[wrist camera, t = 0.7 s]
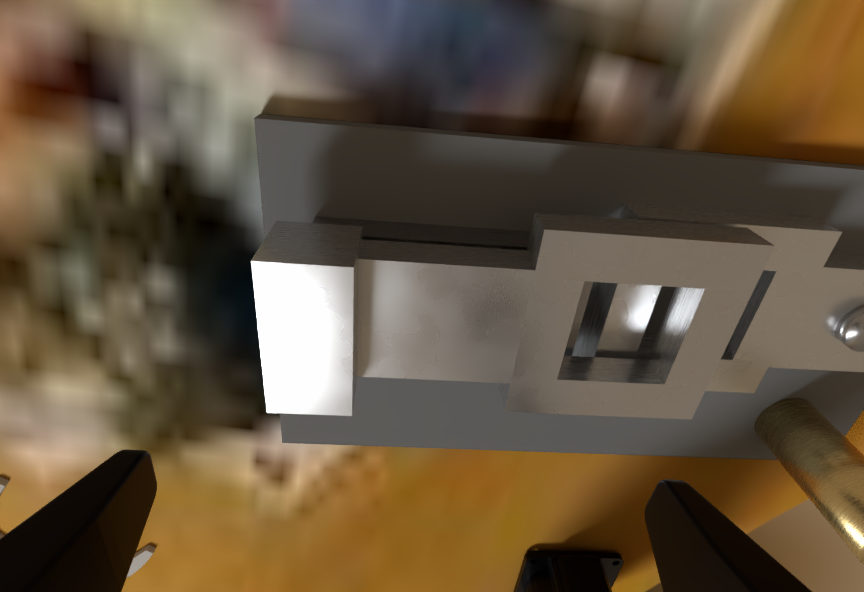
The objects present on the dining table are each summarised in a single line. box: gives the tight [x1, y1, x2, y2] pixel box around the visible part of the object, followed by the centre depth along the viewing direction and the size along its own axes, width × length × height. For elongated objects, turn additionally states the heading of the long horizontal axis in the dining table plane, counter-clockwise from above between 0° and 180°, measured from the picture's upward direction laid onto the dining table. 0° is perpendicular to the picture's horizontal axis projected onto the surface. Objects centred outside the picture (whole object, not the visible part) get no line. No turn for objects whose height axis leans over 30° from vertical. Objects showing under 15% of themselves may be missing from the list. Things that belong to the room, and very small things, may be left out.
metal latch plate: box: [251, 212, 775, 420], centre depth 18 cm, size 8×17×3 cm, turn 85°
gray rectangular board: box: [254, 114, 864, 460], centre depth 23 cm, size 16×30×1 cm, turn 85°
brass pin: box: [754, 398, 864, 564], centre depth 23 cm, size 3×3×7 cm
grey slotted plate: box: [312, 202, 864, 393], centre depth 21 cm, size 8×26×2 cm, turn 85°
